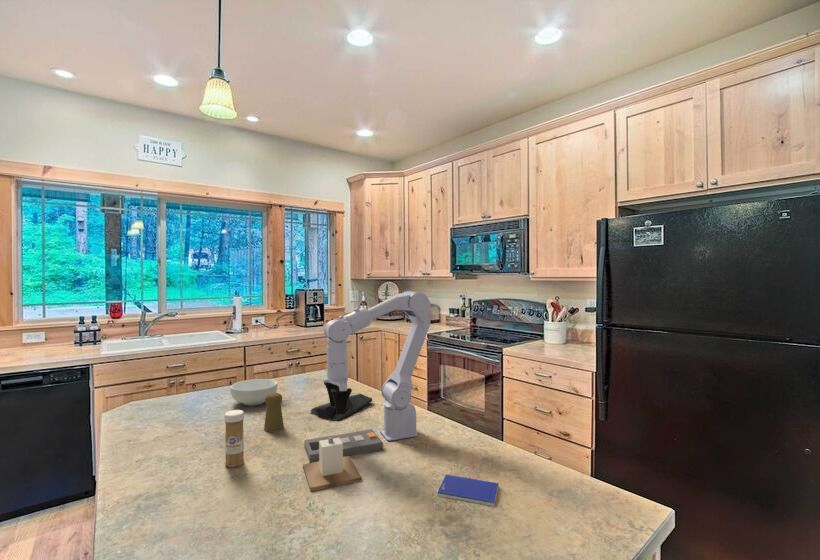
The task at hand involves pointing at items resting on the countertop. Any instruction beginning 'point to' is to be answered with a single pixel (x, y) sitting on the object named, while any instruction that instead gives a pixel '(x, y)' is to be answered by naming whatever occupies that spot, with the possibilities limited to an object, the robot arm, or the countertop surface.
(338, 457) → the block
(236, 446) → the sprinkles bottle
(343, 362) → the robot arm
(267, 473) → the countertop surface
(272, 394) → the cork
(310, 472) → the coaster
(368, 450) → the power strip
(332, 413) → the dark slate chunk
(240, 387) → the cereal bowl
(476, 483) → the hard drive
